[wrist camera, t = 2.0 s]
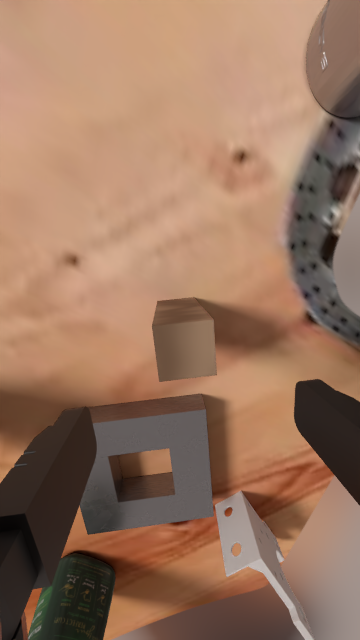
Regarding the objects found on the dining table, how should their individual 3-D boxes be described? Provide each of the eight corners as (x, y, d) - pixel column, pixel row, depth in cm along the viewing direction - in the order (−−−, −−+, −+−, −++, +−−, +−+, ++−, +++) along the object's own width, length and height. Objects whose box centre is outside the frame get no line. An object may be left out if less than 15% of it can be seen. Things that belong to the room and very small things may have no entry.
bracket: (213, 497, 32) (228, 588, 23) (238, 484, 32) (264, 570, 22) (251, 551, 34) (280, 659, 24) (276, 538, 33) (316, 643, 23)
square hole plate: (201, 393, 27) (205, 409, 24) (209, 492, 31) (213, 516, 28) (69, 409, 26) (58, 427, 23) (95, 508, 30) (87, 534, 27)
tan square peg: (193, 297, 24) (213, 319, 14) (196, 332, 25) (216, 375, 15) (157, 301, 24) (152, 326, 14) (161, 335, 25) (159, 381, 15)
